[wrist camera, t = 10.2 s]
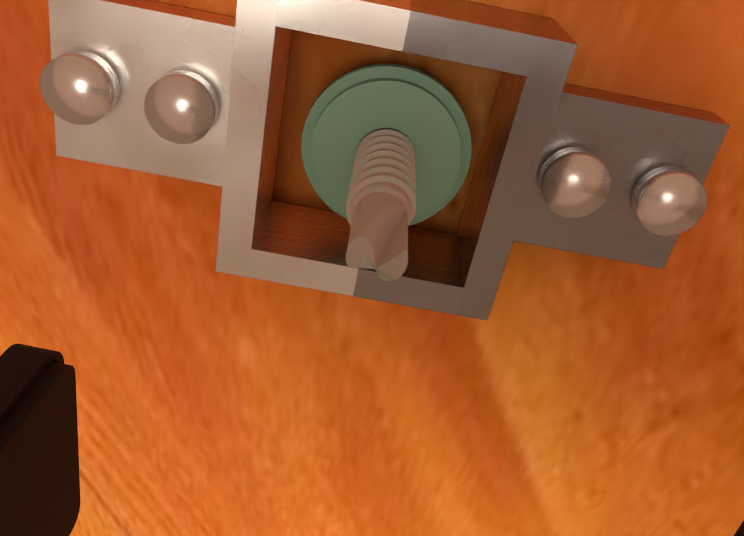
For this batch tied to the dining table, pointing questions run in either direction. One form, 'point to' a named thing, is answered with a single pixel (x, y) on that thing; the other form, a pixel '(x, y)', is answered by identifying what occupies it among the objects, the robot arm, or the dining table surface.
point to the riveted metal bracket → (329, 229)
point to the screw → (385, 157)
